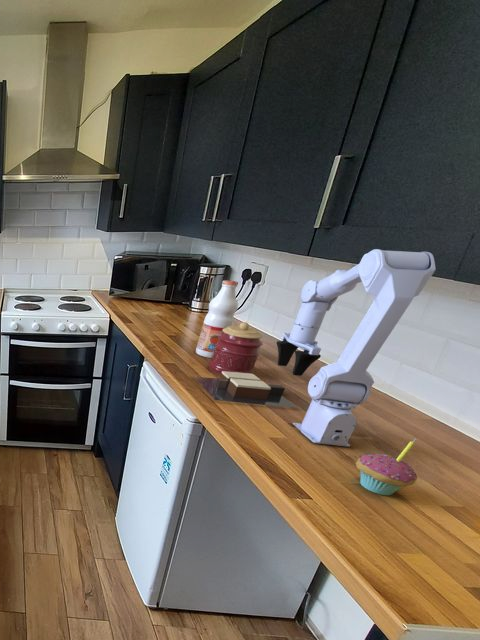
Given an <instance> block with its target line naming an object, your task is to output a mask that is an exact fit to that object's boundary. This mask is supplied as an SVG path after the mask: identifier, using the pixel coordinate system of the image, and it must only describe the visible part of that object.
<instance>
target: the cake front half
mask: <svg viewBox="0 0 480 640" xmlns="http://www.w3.org/2000/svg"><path fill="white" fill-rule="evenodd" d="M268 385H269V384H268ZM268 385H267V383H266V382H264V381H263V380H260V381H254V380H242V379H230V382H229V385H228V388H227V391H228V392H229V393H230V394H231V395H232V396H233V397H239V398H250V399H261V400H267V397H268V395H269V392H270V389H271V387H269V386H268Z"/></svg>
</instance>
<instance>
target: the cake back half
mask: <svg viewBox="0 0 480 640" xmlns="http://www.w3.org/2000/svg"><path fill="white" fill-rule="evenodd" d="M219 379H220V380H230V379H242V380H254V381H261V379H260V378H259V377H258V376H257V375H256V374H254V373H252V374H250V373H238V372H227V371H222V374H220V377H219Z"/></svg>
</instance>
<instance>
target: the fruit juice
mask: <svg viewBox="0 0 480 640" xmlns="http://www.w3.org/2000/svg"><path fill="white" fill-rule="evenodd" d="M238 285H239V282H238V281H236V280H229V279H228V280H227V279H224V280H222V282H221V288H220V290H219V291H218V293H217V294H216V295H215V296H214V297H213V298H212V299H211V300H210V301H209V304H208V311H207V313H206V315H205V317H204V320H203V322H202V327H201V330H200V333H199V336H198V341H197V344H196V348H195V354H196V355H198V356H200V357H203V358H208V359H211V358H212V355H213V352H214V348H215V344H216V343H217V342H218V340H219V339H218V335H219V334H222V333H223V331H222V330H223V329H224V328H227V327H229V326H234V322H235V316H234V315H235V314H236V312H237V311H238V308H239V302H238V300H237V297H236V289H237V287H238Z"/></svg>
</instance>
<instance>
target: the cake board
mask: <svg viewBox="0 0 480 640" xmlns="http://www.w3.org/2000/svg"><path fill="white" fill-rule="evenodd" d="M193 378H194V380H195V381H196V382H197V383H198V384H199V385H200V386H201V387H202V388H203V389H204V390H205V391H206V392H207V394H209V395H210V397H211V398H212V399H213V400H214V401H216V402H217V401H219V402H227V403H239V404H248V405H249V404H250V405H260V406H271V407H282V408H293V409H298V406H296V405H295V404H293V403H292V402H291V401H290V400H288V399H287V398H286V397H284V396H283V395H282V396H279V395H268V397H267V400H261V399H250V398H239V397H233V396H232V395H231V394H230V393H229V392H228V391H227V390H225V389H217V386H218V383H219V380H220V378H216V377H214V378H213V377H205V376H203V377H202V376H193Z"/></svg>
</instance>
